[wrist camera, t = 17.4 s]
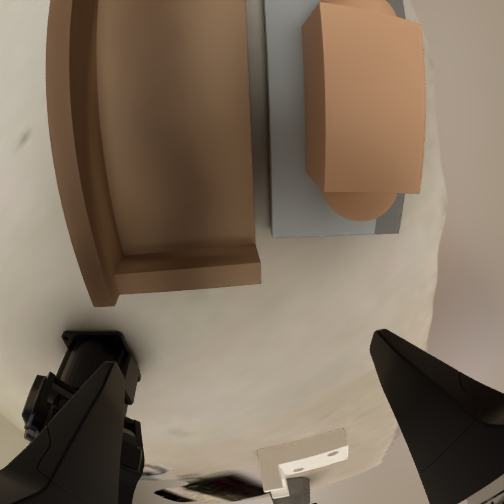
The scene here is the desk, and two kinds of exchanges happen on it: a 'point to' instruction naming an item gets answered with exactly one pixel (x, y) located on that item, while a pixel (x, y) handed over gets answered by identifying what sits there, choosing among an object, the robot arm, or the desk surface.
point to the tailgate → (302, 135)
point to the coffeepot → (296, 492)
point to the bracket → (299, 459)
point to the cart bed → (153, 143)
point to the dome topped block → (363, 105)
